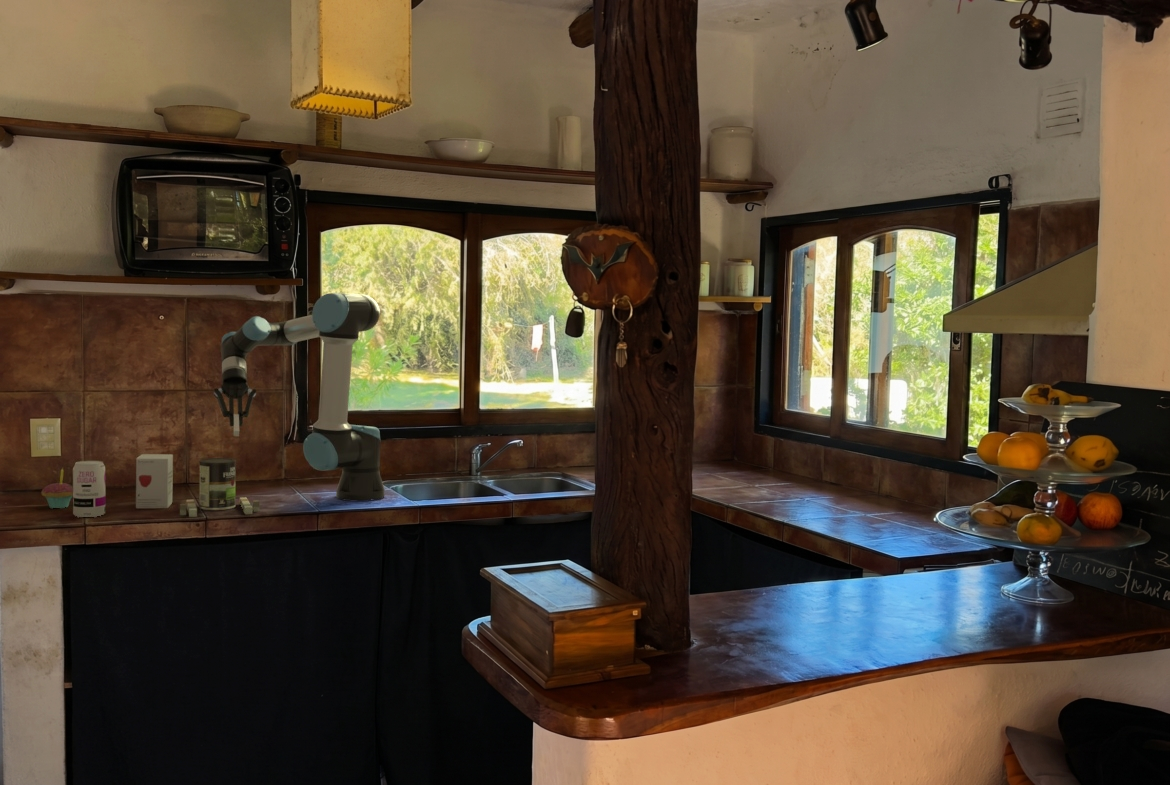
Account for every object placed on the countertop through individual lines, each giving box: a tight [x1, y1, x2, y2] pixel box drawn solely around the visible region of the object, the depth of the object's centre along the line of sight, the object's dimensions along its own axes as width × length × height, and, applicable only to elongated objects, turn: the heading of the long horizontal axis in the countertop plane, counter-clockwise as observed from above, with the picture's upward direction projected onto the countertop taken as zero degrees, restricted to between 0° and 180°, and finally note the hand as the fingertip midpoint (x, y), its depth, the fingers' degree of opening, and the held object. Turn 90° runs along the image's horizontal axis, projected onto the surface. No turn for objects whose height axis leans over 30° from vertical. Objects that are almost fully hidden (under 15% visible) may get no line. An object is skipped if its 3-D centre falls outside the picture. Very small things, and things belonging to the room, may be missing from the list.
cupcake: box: [40, 466, 73, 509], centre depth 297 cm, size 9×8×12 cm
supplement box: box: [135, 453, 174, 509], centre depth 303 cm, size 9×9×15 cm
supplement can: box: [72, 460, 107, 518], centre depth 287 cm, size 8×8×15 cm
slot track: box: [179, 496, 260, 518], centre depth 300 cm, size 16×22×3 cm
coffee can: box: [198, 457, 237, 511], centre depth 304 cm, size 10×10×14 cm
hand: (236, 433), depth 315 cm, fingers closed
